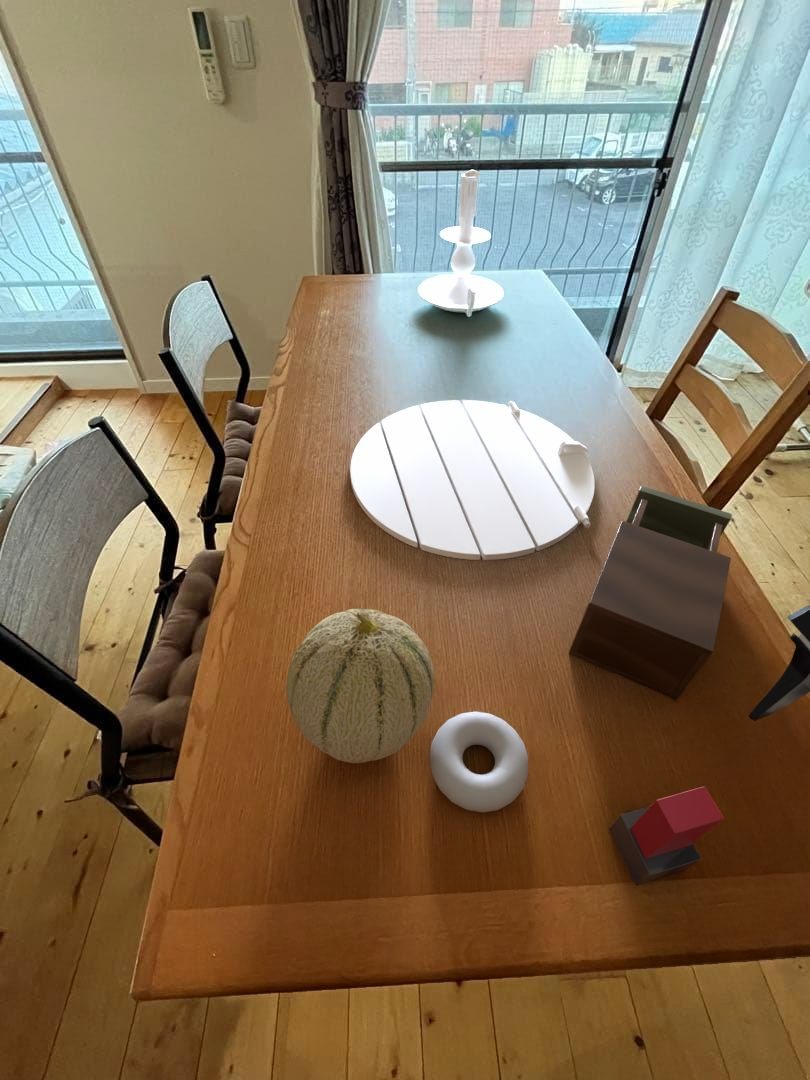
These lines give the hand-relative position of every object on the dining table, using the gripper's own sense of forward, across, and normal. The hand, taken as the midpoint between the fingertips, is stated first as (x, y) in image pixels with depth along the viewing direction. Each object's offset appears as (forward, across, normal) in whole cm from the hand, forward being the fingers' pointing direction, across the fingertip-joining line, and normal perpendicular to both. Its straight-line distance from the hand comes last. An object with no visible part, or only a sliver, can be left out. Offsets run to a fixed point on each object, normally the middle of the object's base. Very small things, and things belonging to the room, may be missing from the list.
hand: (789, 771), depth 44 cm
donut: (+24, -11, -5) cm, 27 cm away
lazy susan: (+13, -57, +6) cm, 59 cm away
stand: (+15, 0, +4) cm, 16 cm away
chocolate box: (+12, 0, +1) cm, 12 cm away
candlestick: (+1, -117, +19) cm, 118 cm away
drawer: (0, -31, +18) cm, 36 cm away
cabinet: (+7, -22, +12) cm, 26 cm away
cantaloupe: (+32, -19, -12) cm, 39 cm away
